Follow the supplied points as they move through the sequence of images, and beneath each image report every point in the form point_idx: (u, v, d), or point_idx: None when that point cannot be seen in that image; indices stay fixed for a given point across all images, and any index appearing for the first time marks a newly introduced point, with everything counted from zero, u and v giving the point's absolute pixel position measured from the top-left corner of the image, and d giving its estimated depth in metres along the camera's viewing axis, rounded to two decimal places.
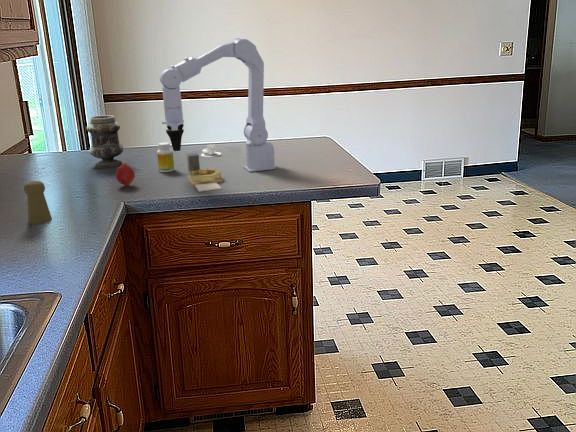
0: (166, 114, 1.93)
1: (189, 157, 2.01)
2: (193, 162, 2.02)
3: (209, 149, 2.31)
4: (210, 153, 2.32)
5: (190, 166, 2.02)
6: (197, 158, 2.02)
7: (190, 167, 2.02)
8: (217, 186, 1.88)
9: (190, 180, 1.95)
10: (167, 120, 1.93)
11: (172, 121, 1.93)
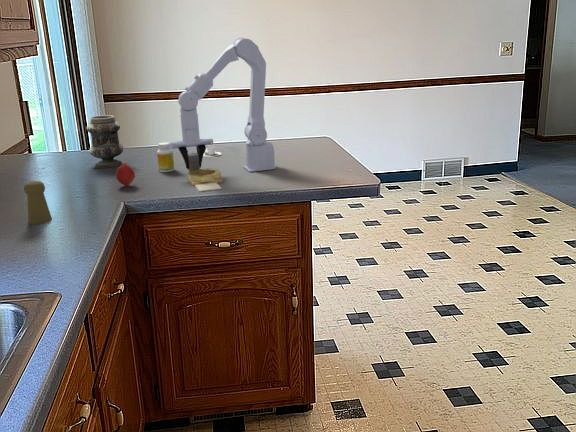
0: None
1: (189, 157, 2.01)
2: (193, 162, 2.02)
3: (209, 149, 2.31)
4: (210, 153, 2.32)
5: (190, 166, 2.02)
6: (197, 158, 2.02)
7: (190, 167, 2.02)
8: (217, 186, 1.88)
9: (190, 180, 1.95)
10: None
11: None
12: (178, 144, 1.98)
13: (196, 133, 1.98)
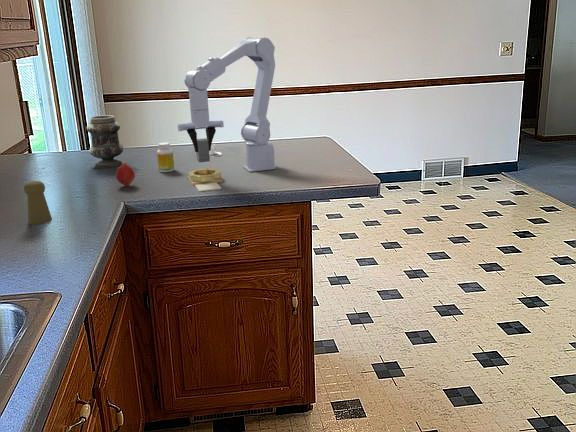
0: None
1: (198, 142, 1.91)
2: (202, 147, 1.92)
3: None
4: (210, 153, 2.32)
5: (199, 152, 1.92)
6: (206, 143, 1.92)
7: (199, 153, 1.92)
8: (217, 186, 1.88)
9: (190, 180, 1.95)
10: None
11: (191, 122, 1.91)
12: (187, 126, 1.88)
13: (206, 114, 1.89)
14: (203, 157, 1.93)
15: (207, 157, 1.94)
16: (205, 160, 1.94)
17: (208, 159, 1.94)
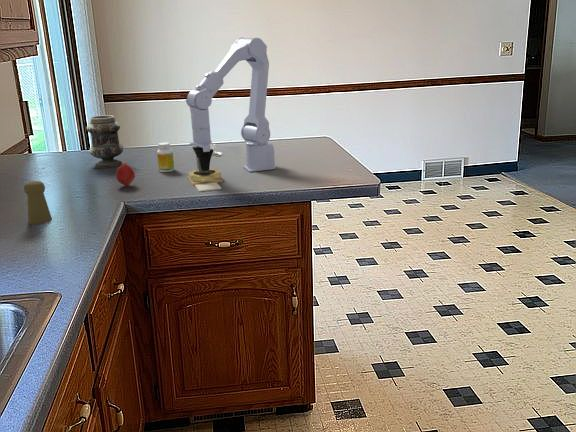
0: (195, 135, 1.90)
1: None
2: None
3: None
4: None
5: None
6: None
7: (209, 169, 1.95)
8: (217, 186, 1.88)
9: (190, 180, 1.95)
10: (196, 141, 1.91)
11: (201, 142, 1.90)
12: (209, 145, 1.89)
13: None
14: None
15: None
16: None
17: None
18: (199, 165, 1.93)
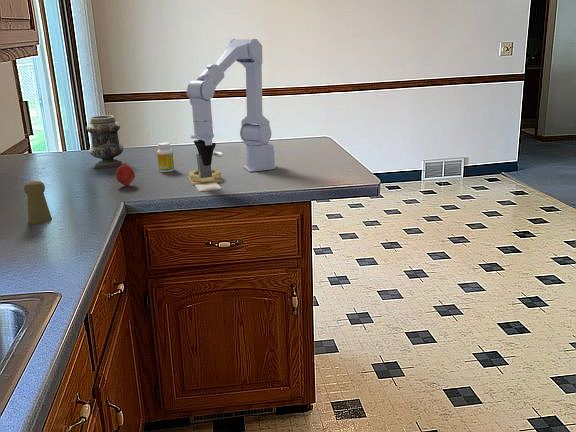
0: (196, 128, 1.80)
1: None
2: None
3: None
4: None
5: (210, 165, 1.85)
6: None
7: (210, 167, 1.85)
8: (217, 186, 1.88)
9: (190, 180, 1.95)
10: (197, 134, 1.80)
11: (203, 135, 1.80)
12: (211, 138, 1.79)
13: None
14: None
15: None
16: None
17: None
18: (200, 163, 1.83)
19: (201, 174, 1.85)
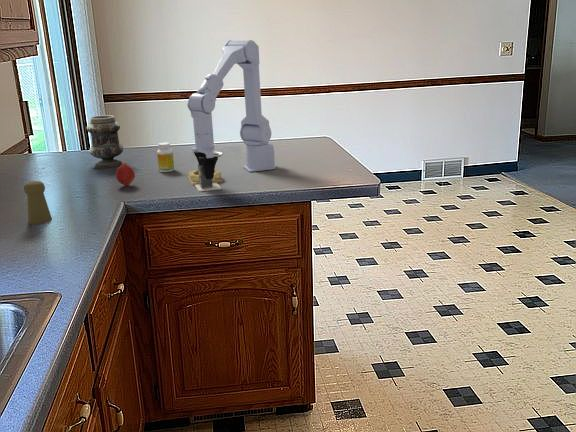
0: (197, 140, 1.81)
1: None
2: None
3: None
4: None
5: None
6: None
7: None
8: (217, 186, 1.88)
9: (190, 180, 1.95)
10: (198, 147, 1.82)
11: (204, 148, 1.81)
12: (212, 150, 1.81)
13: None
14: None
15: None
16: None
17: None
18: (201, 174, 1.84)
19: (202, 184, 1.86)
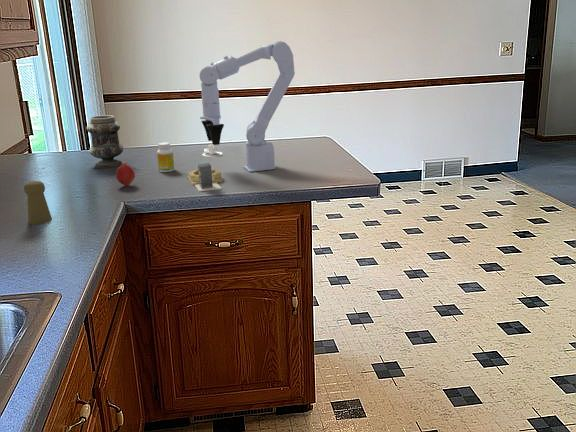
0: (205, 109, 2.00)
1: (210, 166, 1.85)
2: None
3: (210, 149, 2.32)
4: (211, 153, 2.32)
5: (211, 176, 1.86)
6: None
7: (211, 177, 1.86)
8: (217, 186, 1.88)
9: (190, 180, 1.95)
10: (206, 115, 2.00)
11: (211, 116, 2.00)
12: (219, 118, 1.99)
13: None
14: None
15: None
16: None
17: None
18: (201, 174, 1.84)
19: (202, 184, 1.86)
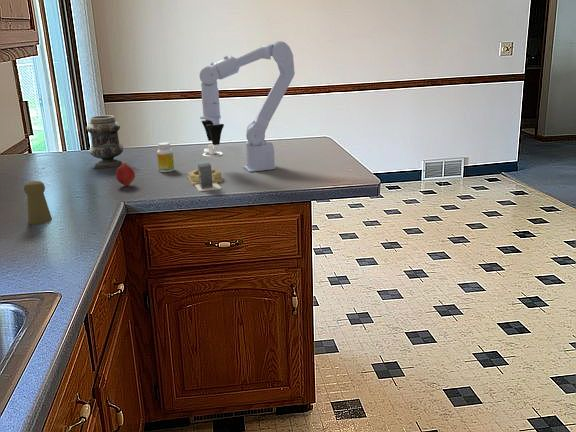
0: (205, 109, 2.00)
1: (210, 166, 1.85)
2: None
3: (210, 149, 2.32)
4: (211, 153, 2.32)
5: (211, 176, 1.86)
6: None
7: (211, 177, 1.86)
8: (217, 186, 1.88)
9: (190, 180, 1.95)
10: (206, 115, 2.00)
11: (211, 116, 2.00)
12: (219, 118, 1.99)
13: None
14: None
15: None
16: None
17: None
18: (201, 174, 1.84)
19: (202, 184, 1.86)
